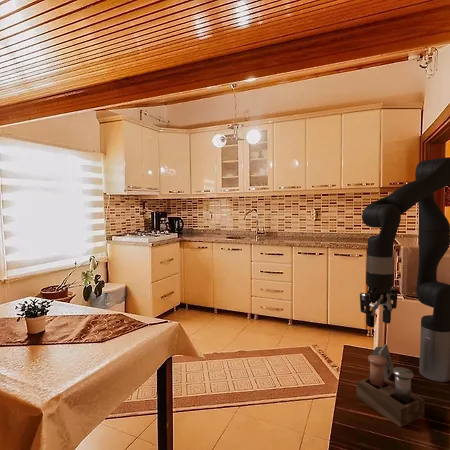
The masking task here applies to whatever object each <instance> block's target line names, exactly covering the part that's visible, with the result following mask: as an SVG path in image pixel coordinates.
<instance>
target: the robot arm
mask: <svg viewBox="0 0 450 450" xmlns="http://www.w3.org/2000/svg"><path fill="white" fill-rule="evenodd" d="M414 175H415V180H413V181H410V182H408V183H405V184H403V185H401V186H399V187H397V189H395V190H394V191H393V192H391V193H390V194H389V195H387V196H384V197H382V198H379V199H378V200H375V201H373V202H371V203H369V204H368V205H367V206H366V207H364V209H363V211H362V213H361V219H362V222H363V224H364V225H365V226H367V227H368V228H369V227H370V228H376V229H380V231H379V233H378V235H371V236H369V237H368V239H367V249H366V250H367V253H366V254H367V255H366V261H365V263H366V264H365V266H366V267H365V284H366V286H367V288H368V289H367V292H360V293H359V306H360V307H359V308H360V312H361V313H363V314H365V324H366V326H367V327H369V328H375V319H376V318H375V316H376V315H375V314H376V310H377V309H379V307H380V305H381V307H382V322H383V323H385V324H387V325H388V324H391V321H392V317H391V315H392V312H393V309H397V304H398V296H399V295H398V294H399V293H398V292H399V291H398V289H395V288H393V287H394V274H395V273H394V272H395V271H394V269H395V268H394V267H395V264H394V242H395V239H396V237H397V232H398V230H399V227H400V224H401V221H402V215H403V214H405V213H406V212H408V211H409V210H410V209H411V208H412V207H414V206H415V205H416V204H417V205H418V206H417V208H418V231H417V232H418V266H417V267H418V269H417V280H416V289H415V290H416V292H415V293H416V297H417V300H418V301H419V303H421V304H423V305H424V306H427V307H430V308H433V310H432V314H427V315H423V316H422V317H421V318H420V319H421V320H420V338H419V339H420V343H419V344H420V345H419V370H418V372H419V374H420V375H421V376H422V377H424V378H426V379H427V380H431V381H434V382H439V383H446V382H449V381H450V284H449V283H445V282H441V281H438V280H437V279H438V278H437V275H438V274H437V273H438V267H439V264H440V262H441V260H442V259H443V257H444V256H445V255H446V252H447V251H448V250H449V247H450V222H449V220H448V218H447V216H446V215H445V214H444V212H443V211H442V210H441V208H440V206H439V204H437V202H436V198H435V194H434V193H436V192H438V191H439V190H442V189H443V188H445V187H448V186H450V157H440V158H433V159H425V160H421V161H419V162H418V164H417V165H416V169H415V174H414Z"/></svg>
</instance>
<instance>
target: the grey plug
mask: <svg viewBox="0 0 450 450" xmlns="http://www.w3.org/2000/svg"><path fill="white" fill-rule="evenodd" d="M392 375H394V383H395V388H394V396H395V398H396V399H398V400H400V401H404V402H408V401H410V393H411V392H412V391H411V390H412V389H411V388H412V387H411V385H412V379H414V375H415V374H414V372H413V370H411V369H409V368H406V367H401V366H395V367H394V366H393V372H392Z"/></svg>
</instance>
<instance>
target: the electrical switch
mask: <svg viewBox="0 0 450 450" xmlns="http://www.w3.org/2000/svg"><path fill="white" fill-rule="evenodd" d="M370 355H379V356H382V357H384V358H386V359H387V364H386V365H385V366H384V378H386V379H388V380H390V377H391V376H392V375H393V368H394V364H393V362H392V357H391V353H390V351H389V347H388V344H387V343H386V344H383V345H382V346H376V347H375V348H374V349H373V351H372V352H371V353H370Z"/></svg>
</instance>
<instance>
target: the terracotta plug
mask: <svg viewBox="0 0 450 450" xmlns="http://www.w3.org/2000/svg"><path fill="white" fill-rule="evenodd" d="M367 361H368V362H369V365H370V366H369V378H370V383H371V384H373V385H375V386H383V385H384V378H385V377H384V366H385V365H386V364H387V359H386V358H384V357H382V356H379V355H373V354H372V355H371V354H370V355H368V356H367Z"/></svg>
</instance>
